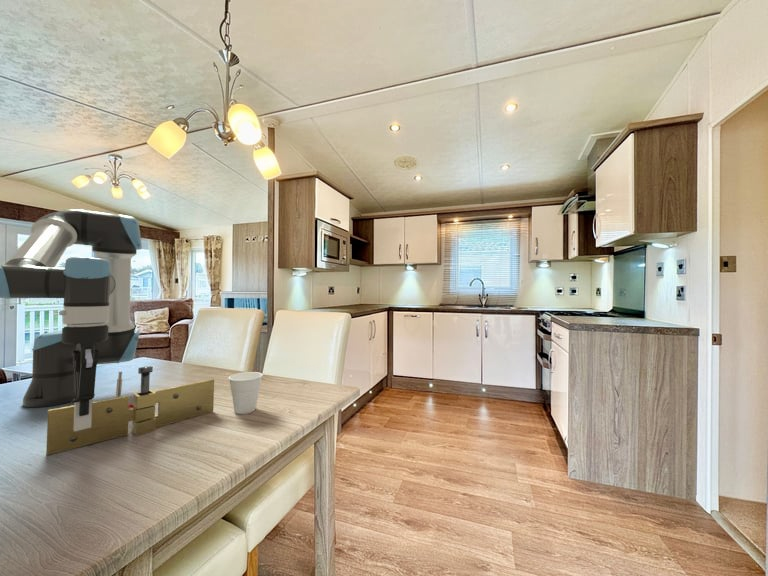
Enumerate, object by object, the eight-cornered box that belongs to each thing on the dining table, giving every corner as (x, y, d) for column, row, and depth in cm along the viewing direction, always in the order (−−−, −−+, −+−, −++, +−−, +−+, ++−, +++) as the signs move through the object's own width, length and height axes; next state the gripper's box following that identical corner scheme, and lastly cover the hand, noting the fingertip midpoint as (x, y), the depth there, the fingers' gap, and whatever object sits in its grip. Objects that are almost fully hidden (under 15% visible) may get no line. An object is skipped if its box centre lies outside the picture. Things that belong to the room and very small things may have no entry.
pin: (135, 408, 79) (137, 367, 79) (149, 405, 82) (150, 365, 82) (138, 411, 77) (140, 369, 78) (152, 408, 80) (154, 367, 80)
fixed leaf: (132, 431, 79) (133, 393, 79) (209, 409, 94) (210, 378, 94) (136, 435, 77) (137, 396, 77) (215, 413, 92) (216, 380, 92)
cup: (222, 410, 94) (223, 375, 94) (254, 402, 101) (254, 370, 101) (234, 420, 87) (235, 382, 87) (267, 410, 94) (268, 376, 94)
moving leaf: (47, 450, 68) (48, 408, 69) (151, 425, 82) (152, 389, 82) (45, 457, 66) (47, 413, 66) (154, 430, 79) (155, 393, 80)
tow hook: (132, 405, 98) (101, 415, 89) (135, 365, 99) (105, 371, 90) (154, 407, 97) (125, 418, 87) (157, 367, 97) (129, 373, 88)
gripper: (59, 323, 69) (55, 425, 69) (65, 328, 61) (61, 443, 61) (103, 321, 75) (99, 415, 75) (114, 325, 67) (110, 431, 67)
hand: (82, 428), depth 68 cm, fingers closed
